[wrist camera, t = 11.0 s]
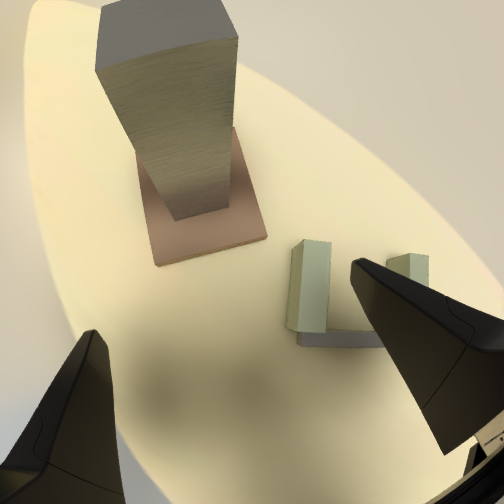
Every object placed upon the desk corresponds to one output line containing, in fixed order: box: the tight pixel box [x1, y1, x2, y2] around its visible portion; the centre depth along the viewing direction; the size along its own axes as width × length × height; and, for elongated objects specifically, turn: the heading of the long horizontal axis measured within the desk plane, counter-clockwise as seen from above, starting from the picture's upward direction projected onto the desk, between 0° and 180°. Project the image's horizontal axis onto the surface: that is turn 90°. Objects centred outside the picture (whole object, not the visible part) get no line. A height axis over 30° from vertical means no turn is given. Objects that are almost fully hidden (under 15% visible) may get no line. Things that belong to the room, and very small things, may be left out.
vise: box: [286, 239, 429, 348], centre depth 18 cm, size 6×9×3 cm
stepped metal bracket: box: [95, 0, 238, 221], centre depth 12 cm, size 6×3×13 cm, turn 16°
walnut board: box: [135, 127, 267, 267], centre depth 19 cm, size 8×7×1 cm
